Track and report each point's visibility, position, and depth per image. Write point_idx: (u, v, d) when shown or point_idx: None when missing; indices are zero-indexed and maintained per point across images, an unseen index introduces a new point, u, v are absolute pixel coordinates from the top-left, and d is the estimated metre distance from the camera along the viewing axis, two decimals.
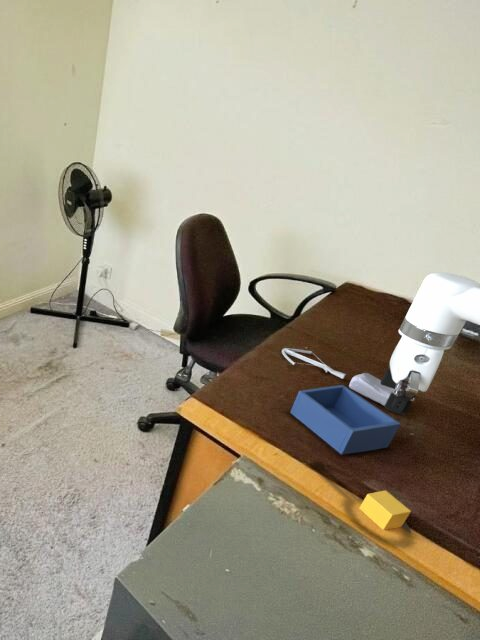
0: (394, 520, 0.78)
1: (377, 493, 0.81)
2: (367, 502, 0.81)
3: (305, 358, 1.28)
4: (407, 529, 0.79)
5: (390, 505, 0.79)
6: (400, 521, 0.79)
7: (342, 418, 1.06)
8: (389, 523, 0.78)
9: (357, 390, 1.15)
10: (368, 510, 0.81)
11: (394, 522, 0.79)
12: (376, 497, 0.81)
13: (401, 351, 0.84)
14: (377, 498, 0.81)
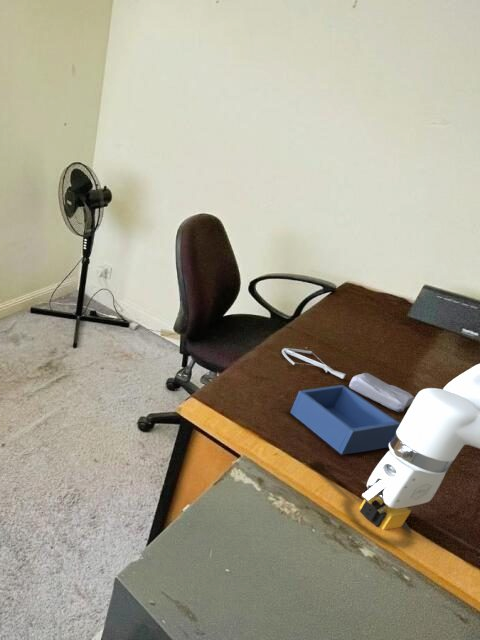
0: (394, 520, 0.78)
1: None
2: None
3: (305, 358, 1.28)
4: (407, 529, 0.79)
5: None
6: (400, 521, 0.79)
7: (342, 418, 1.06)
8: (389, 523, 0.78)
9: (357, 390, 1.15)
10: None
11: (394, 522, 0.79)
12: None
13: None
14: (377, 498, 0.81)
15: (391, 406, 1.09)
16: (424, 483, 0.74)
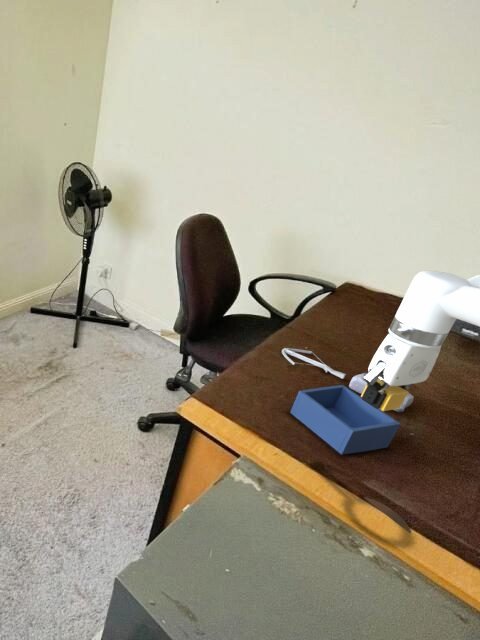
0: (393, 400, 0.85)
1: (377, 380, 0.88)
2: None
3: (305, 358, 1.28)
4: (407, 529, 0.79)
5: (390, 387, 0.86)
6: (398, 402, 0.86)
7: (342, 418, 1.06)
8: (389, 403, 0.85)
9: (357, 390, 1.15)
10: None
11: (393, 402, 0.85)
12: None
13: None
14: None
15: None
16: (421, 360, 0.81)
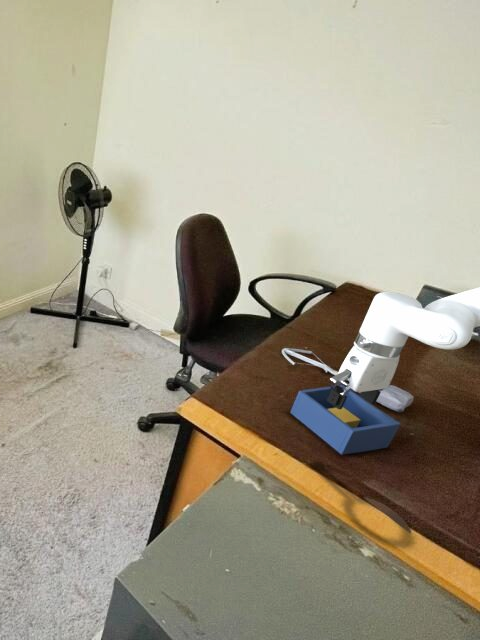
0: None
1: (335, 408, 1.03)
2: None
3: (305, 358, 1.28)
4: (407, 529, 0.79)
5: (345, 415, 1.01)
6: (352, 428, 1.00)
7: None
8: None
9: None
10: None
11: None
12: (334, 411, 1.02)
13: None
14: (334, 411, 1.02)
15: (391, 406, 1.09)
16: (381, 369, 0.92)
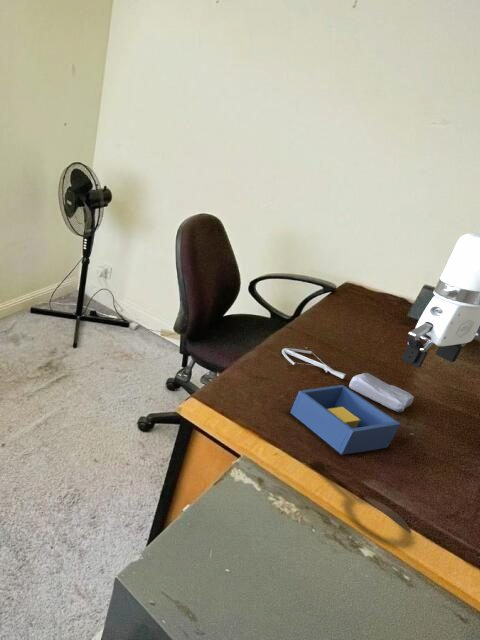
0: None
1: (335, 408, 1.03)
2: None
3: (305, 358, 1.28)
4: (407, 529, 0.79)
5: (345, 415, 1.01)
6: (352, 428, 1.00)
7: None
8: None
9: (357, 390, 1.15)
10: None
11: None
12: (334, 411, 1.02)
13: None
14: (334, 411, 1.02)
15: (391, 406, 1.09)
16: (468, 320, 0.84)
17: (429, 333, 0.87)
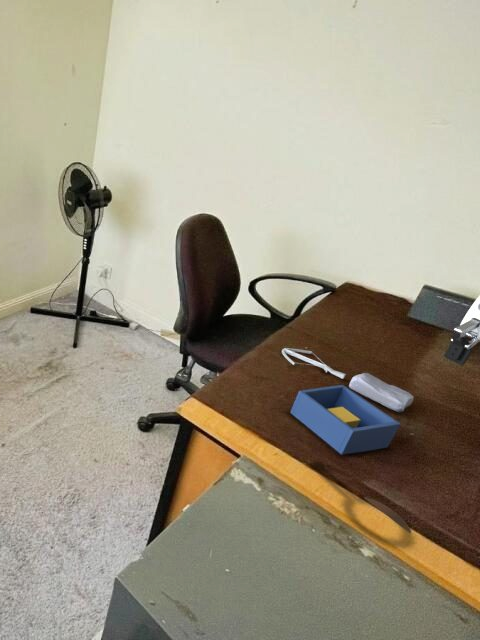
0: None
1: (335, 408, 1.03)
2: None
3: (305, 358, 1.28)
4: (407, 529, 0.79)
5: (345, 415, 1.01)
6: (352, 428, 1.00)
7: None
8: None
9: (357, 390, 1.15)
10: None
11: None
12: (334, 411, 1.02)
13: None
14: (334, 411, 1.02)
15: (391, 406, 1.09)
16: None
17: (475, 330, 0.85)
